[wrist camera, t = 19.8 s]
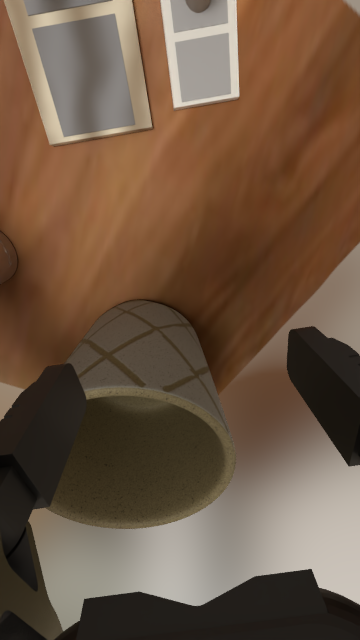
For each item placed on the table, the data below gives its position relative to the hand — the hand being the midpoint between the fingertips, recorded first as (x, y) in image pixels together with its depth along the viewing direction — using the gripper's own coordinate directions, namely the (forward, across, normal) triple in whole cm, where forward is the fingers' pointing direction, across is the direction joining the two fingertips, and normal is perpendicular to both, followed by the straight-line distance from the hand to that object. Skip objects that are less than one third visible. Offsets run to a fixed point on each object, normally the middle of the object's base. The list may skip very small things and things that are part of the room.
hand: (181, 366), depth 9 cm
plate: (+32, -7, -21) cm, 39 cm away
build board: (+32, +6, -24) cm, 41 cm away
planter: (+32, +8, +19) cm, 38 cm away
